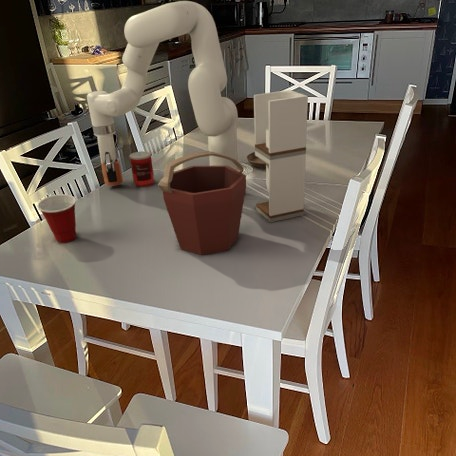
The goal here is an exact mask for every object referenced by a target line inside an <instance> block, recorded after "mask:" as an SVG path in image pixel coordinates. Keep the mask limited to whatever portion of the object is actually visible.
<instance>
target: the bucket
mask: <svg viewBox="0 0 456 456" xmlns="http://www.w3.org/2000/svg"><path fill="white" fill-rule="evenodd" d="M209 156H216V157H221V158H225V159H228V160H231V161H232V162H233V163H234V164H235V165H236V166H237V168H236V169H233V168H231V167H229V166H210V165H190V166H187V167H185V168H181V169H179V170H175V168H177V167H179V166H180V165H182V164H184V163H187V162H190V161H192V160H195V159H199V158H205V157H209ZM243 171H244V166H243V165H242V164H241V163H240V162H239V161H237V160H235V159H233V158H231V157H228V156H225V155H223V154H219V153H215V152H210V151H209V150H208V151H200V152H195V153H189V154H187V155H184V156H181V157H177V158H175V159H173V160H171V161H169V162H168V163H166V164H165V169H164V174H163V177H162V178H161V179H160V180H159V182H158V184H157V187H158V188H159V189H160V190H161V191H162V197H163V198H162V199H163V202H164V204H165V207H166V210H167V213H168V216H169V220H170V222H171V224H172V225H171V226H172V228H173V231H174V234H175V237H176V240H177V243H178V245H179V249H180V250H184V251H187V252H189V253H193V254H197V255H200V256H205V255H209V254H215V253H220V252H226V251H229V250H230V248H232V246H233V245H234V244H235V243H236V241H237V240H238V239H239V233H240V227H241V220H242V214H243V208H244V202H245V196H246V191H247V190H246V189H247V175H246V174H245V173H242V172H243Z"/></svg>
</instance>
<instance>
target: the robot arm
mask: <svg viewBox="0 0 456 456" xmlns="http://www.w3.org/2000/svg"><path fill="white" fill-rule="evenodd" d="M123 31H124V33H123V34H124V39H125V40H126V42H127V44H126V48H125V50H124V52H123V54H122V58H121V61H122V63H123V65H124V66H125V67H126V70H127V71H126V75H125V78H124V81H123V83H122V85H121V87H120V88H119V89H118V90H115V91H112V92H110V93H109V92H108V91H105V90H95V91H90V92H89V93H87V94H86V100H87V101H86V102H87V106H88V111H89V116H90V121H91V125H92V131H93V135H94V136H95V137H97V145H98V150H99V151H98V152H99V157H100V164H101V163H102V164H104V163H106V170H107V177H108V182H117V176H116V170H115V169H114V163H115V159H117V154H116V145H115V141H114V140H115V139H114V134H116V133H117V132H116V125H115V119H114V118H117V117H118V118H119V117H122V116H123V115H126V114H127V113H129V112H131V111H133V110H134V109H135V108H136V107H137V106H138V105H139V103H140V100H141V99H142V97H143V94H144V92H145V89H146V86H147V80H148V70H149V67H150V65H151V64H152V61H153V58H154V56H155V54H156V52H157V49H158V46H159V44H160V43H162V42H164V41H167V40H171V39H174V38H177V37H181V36H183V35H189V36H190V41H191V52H192V55H193V59H194V64H195V67H194V68H193V69H192V71H191V72H190V74H189V76H188V81H187V87H188V93H189V97H190V102H191V106H192V109H193V113H194V114H193V115H194V117H195V122H196V124H197V127H198V128H199V131H201V133H202V134H203V135H205V136H207V146H208V151H210V152H215V153H219V154H223V155H225V156H228V157H231V158H233V159H235V160H237V161H238V159H239V158H238V122H239V121H238V119H239V115H238V108H237V106H236V104H235V102H234V101H233V100H232V99H230V98H229V97H227V96H222V94H221V92H223V91H224V89H225V88H226V87H227V84H228V74H227V70H226V67H225V62H224V57H223V52H222V48H221V44H220V39H219V36H218V35H219V34H218V30H217V27H216V22H215V20H214V17H213V15H212V14H211V13H210V11H208V9H207V8H206V7H205V6H203V5H202V4H199V3H197V2H195V1H190V0H180V1H175V2H174V1H173V2H169V3H165V4H162V5H159V6H156V7H154V8H151V9H148V10H146V11H143V12H140V13H137V14H134V15H132V16H130V17H129V18H128V19H127V20H126V22H125V24H124V29H123ZM208 158H209V159H208V160H209V166H229V167H231V168H233V169H236V168H237V166H236V165H235V164H234V163H233V162H232V161H231V160H228V159H225V158H221V157H216V156H208ZM110 161H112V162H110ZM238 162H239V161H238ZM111 164H112V165H111Z"/></svg>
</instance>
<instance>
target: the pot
mask: <svg viewBox="0 0 456 456" xmlns="http://www.w3.org/2000/svg"><path fill="white" fill-rule="evenodd" d="M110 162H112V161H110ZM100 165H101V171H102V177H103V181H104V184H105V185H106V186H119V185H121V184H123V182H124V179H123V173H122V168H121V167H122V166H121V162H120V159H119V158H116V159H115V163H114V169H115V170H116V176H117V182H108V177H107V170H106V163H104V164H102V163H101V162H100ZM111 165H112V164H111Z"/></svg>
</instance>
